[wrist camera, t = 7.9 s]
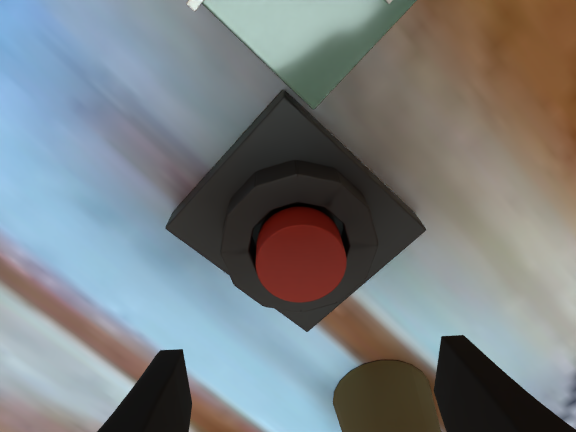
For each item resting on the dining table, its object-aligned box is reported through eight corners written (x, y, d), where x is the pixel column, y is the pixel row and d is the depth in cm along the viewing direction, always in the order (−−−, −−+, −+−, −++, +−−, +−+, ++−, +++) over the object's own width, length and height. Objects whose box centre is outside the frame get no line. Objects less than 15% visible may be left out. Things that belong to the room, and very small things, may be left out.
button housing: (283, 88, 19) (285, 104, 16) (416, 214, 22) (440, 249, 19) (171, 212, 22) (154, 248, 18) (305, 312, 24) (309, 358, 21)
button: (297, 189, 18) (299, 206, 16) (358, 241, 19) (365, 262, 18) (239, 246, 19) (236, 268, 17) (300, 293, 20) (302, 317, 19)
